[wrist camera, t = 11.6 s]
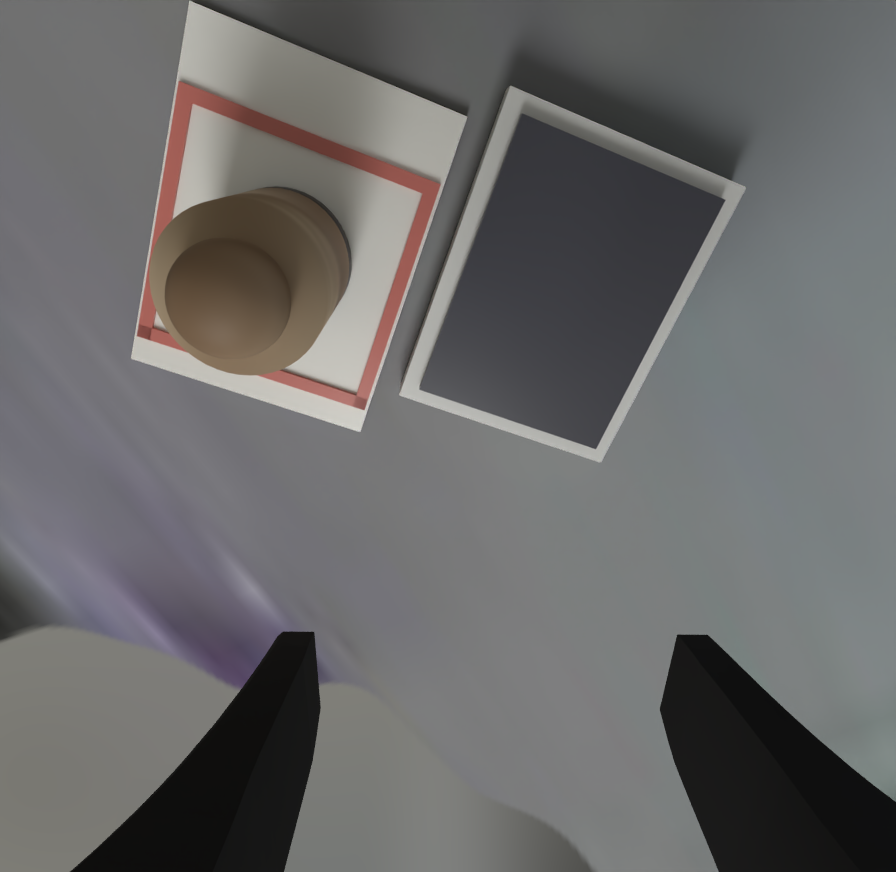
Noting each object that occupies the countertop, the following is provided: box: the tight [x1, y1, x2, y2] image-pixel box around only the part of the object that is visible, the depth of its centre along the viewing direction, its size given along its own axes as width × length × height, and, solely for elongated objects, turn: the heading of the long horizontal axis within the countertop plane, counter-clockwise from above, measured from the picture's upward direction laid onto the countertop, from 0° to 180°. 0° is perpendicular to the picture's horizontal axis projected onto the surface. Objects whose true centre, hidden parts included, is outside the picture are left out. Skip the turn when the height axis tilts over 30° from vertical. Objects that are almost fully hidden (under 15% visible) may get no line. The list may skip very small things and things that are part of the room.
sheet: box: [131, 1, 467, 432], centre depth 18 cm, size 8×10×1 cm
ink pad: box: [399, 86, 747, 463], centre depth 19 cm, size 7×9×1 cm
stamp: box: [149, 186, 352, 376], centre depth 15 cm, size 4×4×7 cm
